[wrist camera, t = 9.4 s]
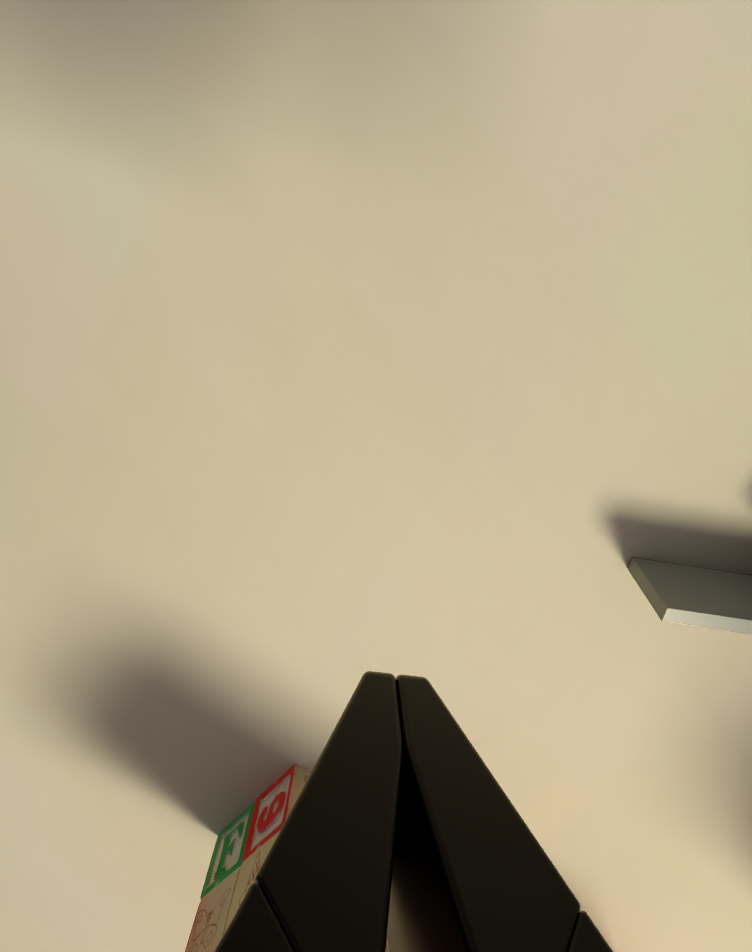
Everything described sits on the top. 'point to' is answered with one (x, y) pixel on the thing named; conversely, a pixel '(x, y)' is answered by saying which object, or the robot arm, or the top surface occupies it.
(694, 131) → the top surface
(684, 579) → the box
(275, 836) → the stack of blocks
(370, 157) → the top surface
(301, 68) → the top surface
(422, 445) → the top surface
